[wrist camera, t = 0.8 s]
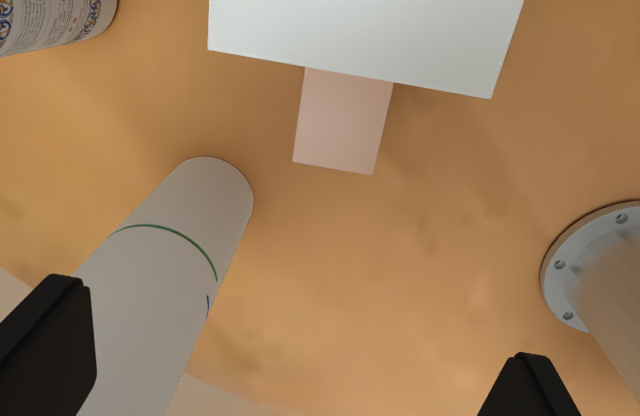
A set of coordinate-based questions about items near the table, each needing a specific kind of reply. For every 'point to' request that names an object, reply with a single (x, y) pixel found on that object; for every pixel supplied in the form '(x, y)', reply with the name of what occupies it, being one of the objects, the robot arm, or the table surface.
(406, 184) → the table surface
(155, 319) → the cylindrical container
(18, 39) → the bath foam
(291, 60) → the lid
